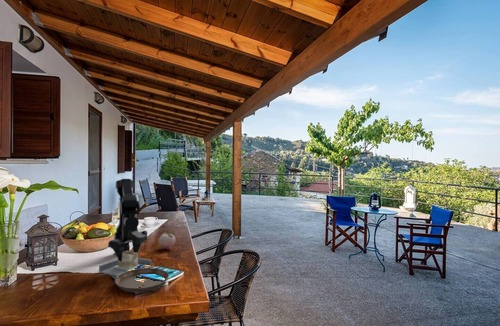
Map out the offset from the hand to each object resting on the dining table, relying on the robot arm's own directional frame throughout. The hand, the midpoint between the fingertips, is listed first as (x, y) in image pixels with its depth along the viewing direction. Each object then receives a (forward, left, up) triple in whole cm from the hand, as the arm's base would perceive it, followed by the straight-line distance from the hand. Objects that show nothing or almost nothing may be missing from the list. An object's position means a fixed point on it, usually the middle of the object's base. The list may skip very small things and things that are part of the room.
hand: (128, 258), depth 144 cm
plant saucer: (+20, -12, -5) cm, 24 cm away
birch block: (0, 0, -3) cm, 3 cm away
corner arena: (+1, -2, -4) cm, 5 cm away
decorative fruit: (-4, +33, -4) cm, 34 cm away
